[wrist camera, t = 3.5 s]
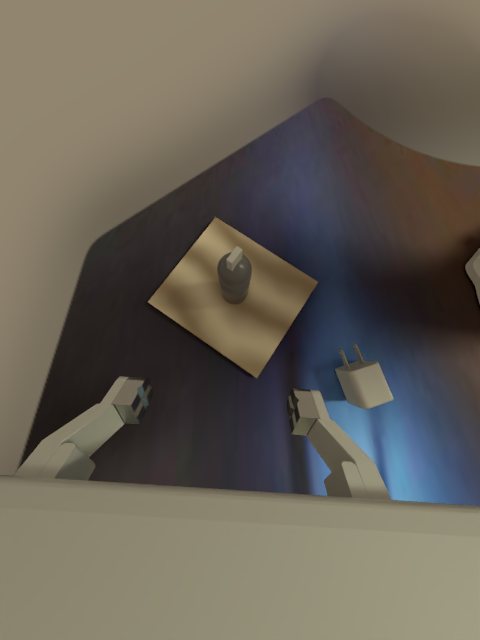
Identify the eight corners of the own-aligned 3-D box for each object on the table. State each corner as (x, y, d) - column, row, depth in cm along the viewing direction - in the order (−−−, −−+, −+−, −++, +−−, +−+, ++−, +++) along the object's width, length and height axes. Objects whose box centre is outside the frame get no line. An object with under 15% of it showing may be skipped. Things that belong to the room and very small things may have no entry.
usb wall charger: (344, 400, 25) (365, 409, 21) (325, 351, 26) (341, 350, 22) (371, 391, 25) (396, 398, 21) (351, 342, 26) (372, 340, 23)
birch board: (216, 221, 29) (215, 217, 28) (315, 284, 28) (318, 282, 27) (150, 303, 27) (147, 302, 26) (256, 377, 25) (256, 378, 24)
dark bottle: (231, 275, 27) (229, 228, 17) (252, 288, 26) (263, 250, 16) (216, 295, 26) (205, 259, 16) (238, 309, 26) (240, 282, 16)
